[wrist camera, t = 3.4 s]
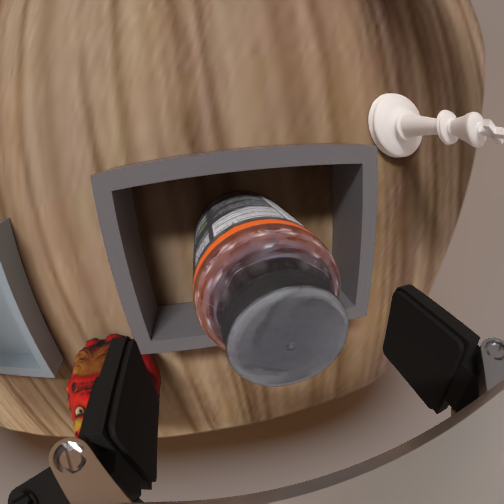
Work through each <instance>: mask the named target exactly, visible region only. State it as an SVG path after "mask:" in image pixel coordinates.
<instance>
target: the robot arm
mask: <svg viewBox="0 0 504 504" xmlns="http://www.w3.org/2000/svg"><path fill="white" fill-rule="evenodd" d="M479 339H480V337H479V336H478V335H477V334H475V333H474V332H473V331H472V330H471V329H469V328H468V327H467V326H465V325H464V324H463V323H462V322H460V321H459V320H458V319H456V318H455V317H454V316H453V315H451V314H450V313H449V312H447V311H446V310H445V309H443V308H442V307H441V306H440V305H438V304H437V303H436V302H434V301H433V300H432V299H430V298H429V297H428V296H426V295H425V294H424V293H422V292H421V291H419V290H418V289H417V288H415V287H414V286H413V285H405V286H402V287H398V288H397V289H396V290H395V292H394V293H393V296H392V302H391V308H390V314H389V319H388V325H387V330H386V335H385V340H384V344H383V352H384V354H385V356H386V357H387V358H388V359H389V361H390V362H391V363H392V364H393V365H394V366H395V368H396V369H397V370H398V371H399V372H400V374H401V375H402V376H403V377H404V378H405V380H406V381H407V382H408V383H409V384H410V386H411V387H412V388H413V389H414V390H415V392H416V393H417V394H418V395H419V396H420V398H421V399H422V400H423V401H424V403H425V404H426V405H427V406H428V407H429V408H430V409H433V410H434V411H435V412H436V414H438V413H440V412H442V411H443V410H445V409H446V408H447V407H448V405H450V406H451V407H452V408H451V417H449V418H448V419H446V420H445V421H443V422H441V423H440V424H438V425H436V426H435V427H433V428H431V429H430V430H428V431H426V432H424V433H422V434H421V435H419V436H417V437H415V438H413V439H411V440H409V441H407V442H406V443H404V444H402V445H400V446H398V447H396V448H393V449H391V450H389V451H387V452H385V453H383V454H380V455H378V456H376V457H374V458H371V459H369V460H366V461H364V462H362V463H359V464H356V465H354V466H351V467H349V468H346V469H343V470H340V471H337V472H335V473H332V474H329V475H325V476H322V477H319V478H316V479H313V480H309V481H305V482H302V483H298V484H294V485H290V486H287V487H283V488H278V489H273V490H268V491H263V492H259V493H252V494H247V495H240V496H233V497H226V498H217V499H207V500H196V501H178V502H146V503H145V502H143V501H142V500H141V499H140V498H139V497H140V496H141V489H149V490H151V489H152V482H155V481H156V478H157V436H158V416H159V397H158V393H157V391H156V389H155V387H154V384H153V382H152V380H151V377H150V375H149V373H148V370H147V368H146V365H145V363H144V360H143V358H142V355H141V353H140V350H139V347H138V345H137V342H136V341H135V340H131V339H130V337H128V336H127V337H116V338H112V340H111V343H110V346H109V348H108V351H107V354H106V357H105V360H104V363H103V366H102V369H101V372H100V375H99V376H98V377H96V379H95V381H94V384H93V387H92V390H91V393H90V396H89V400H88V403H87V406H86V410H85V413H84V417H83V420H82V424H81V428H80V432H79V436H78V438H73V437H72V438H65V439H62V440H60V441H59V442H57V443H56V444H55V445H54V446H53V448H52V449H51V451H50V454H49V464H50V467H49V468H47V469H46V470H44V471H42V472H41V473H39V474H38V475H36V476H34V477H33V478H31V479H29V480H28V481H26V482H25V483H23V484H21V485H20V486H18V487H16V488H15V489H14V490H12V492H11V493H10V495H9V498H8V504H504V341H503V340H500V339H497V338H488V339H485V340H484V341H483V342H482V344H481V346H480V347H479V346H478V345H477V344H478V341H479Z"/></svg>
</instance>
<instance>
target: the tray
mask: <svg viewBox="0 0 504 504" xmlns="http://www.w3.org/2000/svg"><path fill="white" fill-rule="evenodd" d="M63 360H64V359H63V357H62V355H61V353H60V351H59V349H58V347H57V345H56V343H55V342H54V340H53V338H52V335H51V333H50V331H49V329H48V327H47V325H46V323H45V321H44V319H43V316H42V314H41V312H40V309H39V307H38V305H37V302H36V300H35V297H34V295H33V292H32V290H31V287H30V285H29V282H28V279H27V276H26V274H25V271H24V268H23V265H22V262H21V259H20V255H19V252H18V249H17V245H16V242H15V238H14V235H13V231H12V227H11V223H10V219H5V220H2V221H0V374H9V375H19V376H31V377H46V378H56V375H57V373H58V371H59V369H60V366H61V364H62V362H63Z"/></svg>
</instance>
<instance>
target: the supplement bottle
mask: <svg viewBox="0 0 504 504" xmlns="http://www.w3.org/2000/svg"><path fill="white" fill-rule="evenodd" d="M339 295H340V275H339V270H338V267H337V265H336V261H335V260H334V258H333V256H332V255H331V253H330V252H329V251H328V249H327V248H326V246H325V245H324V244H323V243H322V242H321V241H320V240H319V239H318V238H317V237H315V236H314V235H313V234H312V233H311V232H310V231H309V230H308V229H307V228H306V227H304V226H303V225H302V224H300V223H299V222H298V221H297V220H295V219H294V218H293V217H292V216H290V215H289V214H288V213H287V211H286V212H285V211H284V210H283V209H281V208H280V207H279V206H278V205H276V204H275V203H274V202H272V201H271V200H269V199H267V198H266V197H264V196H262V195H259V194H257V193H253V192H248V191H237V192H231V193H228V194H225V195H223V196H221V197H219V198H217V199H216V200H214V201H213V202H211V203H210V204H209V206H208V207H207V208H206V209H205V210H204V212H203V213H202V215H201V216H200V218H199V220H198V223H197V227H196V230H195V236H194V258H193V303H194V307H195V311H196V315H197V318H198V321H199V324H200V325H201V327H202V329H203V330H204V332H205V333H206V334H207V336H208V337H209V338H210V339H211V340H212V341H213V343H215V344H216V345H217V346H219V347H220V348H221V349H223V350H225V351H226V353H227V357H228V360H229V362H230V364H231V366H232V368H233V369H234V370H235V371H236V372H237V373H238V374H239V375H240V376H241V377H243V378H244V379H246V380H248V381H250V382H252V383H255V384H259V385H262V386H272V387H278V386H285V385H291V384H295V383H299V382H302V381H304V380H306V379H309V378H311V377H313V376H314V375H316V374H318V373H320V372H321V371H323V370H324V369H325V368H326V367H327V366H328V365H329V364H330V363H332V362H333V361H334V359H335V358H336V357H337V356H338V354H339V353H340V351H341V349H342V348H343V346H344V344H345V341H346V338H347V335H348V328H349V321H348V315H347V312H346V310H345V308H344V306H343V304H342V302H341V301H340V300H339Z"/></svg>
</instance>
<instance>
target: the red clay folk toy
mask: <svg viewBox="0 0 504 504" xmlns="http://www.w3.org/2000/svg"><path fill="white" fill-rule="evenodd" d="M116 337H124V336H121V335H119V334H110V335H109V336H107V338H106V339H105V340H98V338H93V339H91V340H89V341H87V343H86V347H84V348H83V349H82V350H81V351H80V352H79V353H78V354H77V356H76V360H75V365H74V368H73V371H72V376H71V379H70V380H69V381H68V383H67V386H66V391H67V394H68V400H67V404H68V409H69V410H70V413H71V418H72V420H73V422H74V423H73V426H74V429H75V430H76V434H75V438H78V436H79V432H80V428H81V424H82V420H83V417H84V413H85V410H86V406H87V403H88V400H89V396H90V393H91V390H92V387H93V384H94V381H95V379H96V377H98V376H99V375H100V372H101V369H102V366H103V363H104V360H105V357H106V354H107V351H108V348H109V346H110V343H111V340H112V338H116ZM131 340H135V339H131ZM141 355H142V358H143V360H144V363H145V365H146V368H147V370H148V373H149V375H150V377H151V380H152V382H153V384H154V387H155V389H156V391H157V393H158V397H160V393H159V391H160V384H161V377H160V371H159V368H158V365H157V363H156V361H155V360H154V358H153V356H152V354H141Z"/></svg>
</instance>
